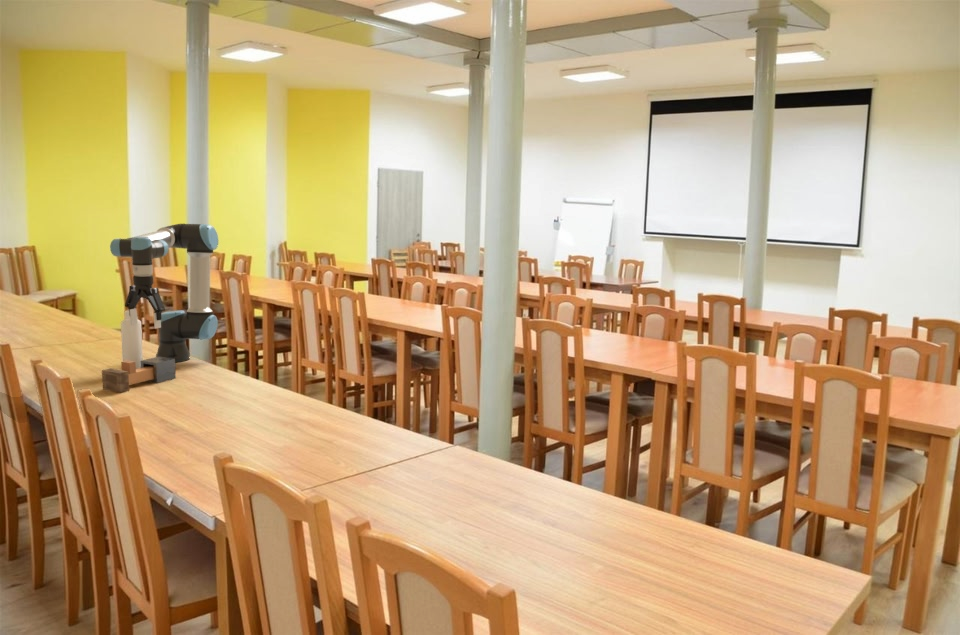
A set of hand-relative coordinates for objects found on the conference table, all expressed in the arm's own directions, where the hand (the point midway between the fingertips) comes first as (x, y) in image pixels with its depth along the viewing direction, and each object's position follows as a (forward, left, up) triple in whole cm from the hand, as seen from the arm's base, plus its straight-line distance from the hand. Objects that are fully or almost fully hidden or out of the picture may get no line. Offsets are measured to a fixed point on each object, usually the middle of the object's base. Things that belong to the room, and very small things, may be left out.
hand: (145, 326), depth 311 cm
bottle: (-8, -17, -24) cm, 31 cm away
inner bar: (+6, -1, -23) cm, 23 cm away
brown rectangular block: (+15, -1, -24) cm, 28 cm away
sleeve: (-7, -1, -24) cm, 25 cm away
